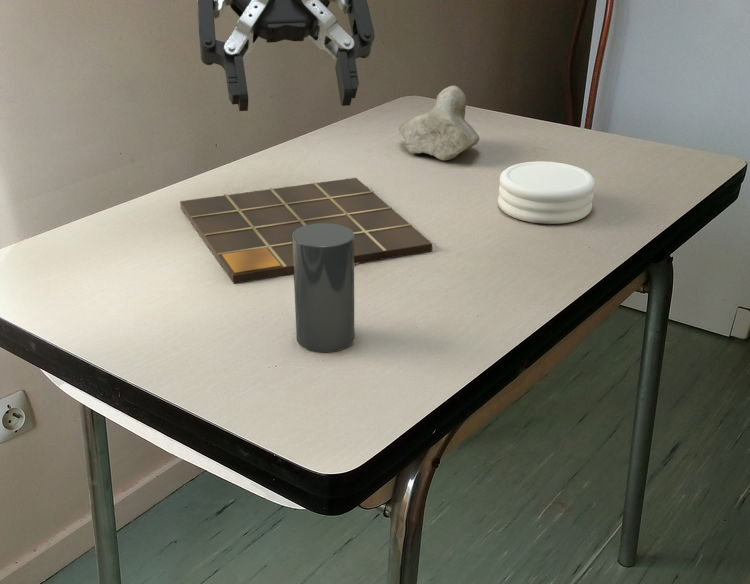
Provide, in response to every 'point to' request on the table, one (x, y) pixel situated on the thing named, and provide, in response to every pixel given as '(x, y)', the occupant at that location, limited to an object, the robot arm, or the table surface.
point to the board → (297, 225)
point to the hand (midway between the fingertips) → (296, 103)
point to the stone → (441, 127)
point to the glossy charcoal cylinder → (324, 286)
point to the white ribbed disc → (546, 192)
